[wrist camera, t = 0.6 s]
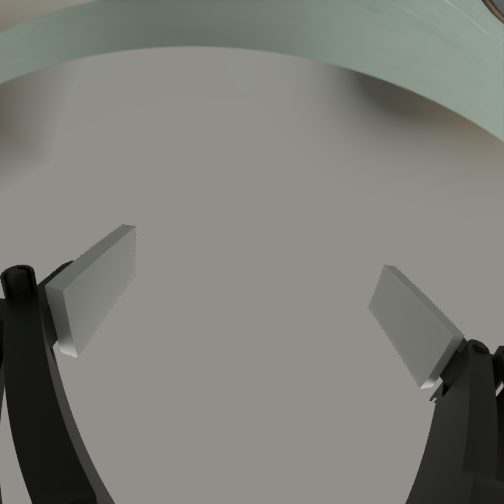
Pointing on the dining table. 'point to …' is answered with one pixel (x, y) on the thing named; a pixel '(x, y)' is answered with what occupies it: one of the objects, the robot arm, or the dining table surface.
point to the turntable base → (493, 10)
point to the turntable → (498, 6)
